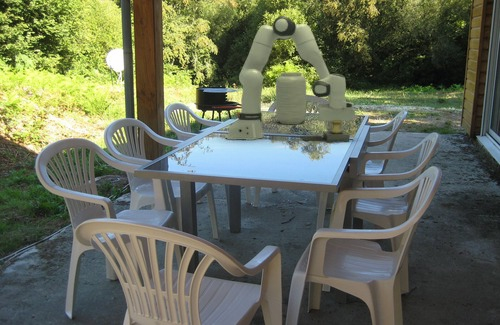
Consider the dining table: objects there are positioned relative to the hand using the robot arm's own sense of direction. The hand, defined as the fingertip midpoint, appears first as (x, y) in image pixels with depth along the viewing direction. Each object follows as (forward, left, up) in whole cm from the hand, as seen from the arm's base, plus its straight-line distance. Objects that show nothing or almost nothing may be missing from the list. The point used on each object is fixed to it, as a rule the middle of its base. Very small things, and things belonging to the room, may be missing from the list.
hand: (336, 129), depth 273 cm
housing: (0, 0, -6) cm, 6 cm away
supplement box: (+4, +21, -6) cm, 22 cm away
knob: (0, 0, -6) cm, 6 cm away
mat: (-12, +6, -6) cm, 15 cm away
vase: (-17, +66, -6) cm, 68 cm away
